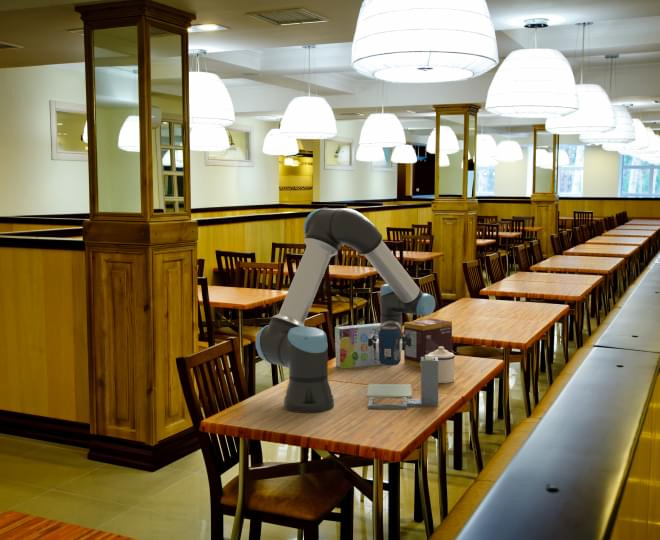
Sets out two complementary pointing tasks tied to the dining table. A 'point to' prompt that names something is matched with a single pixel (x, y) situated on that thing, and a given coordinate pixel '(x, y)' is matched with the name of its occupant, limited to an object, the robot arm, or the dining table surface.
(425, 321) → the supplement box
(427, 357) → the plunger
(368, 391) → the pad
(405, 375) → the dining table surface
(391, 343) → the soda can
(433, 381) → the grey l-shaped piece
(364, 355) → the snack box
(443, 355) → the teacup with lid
